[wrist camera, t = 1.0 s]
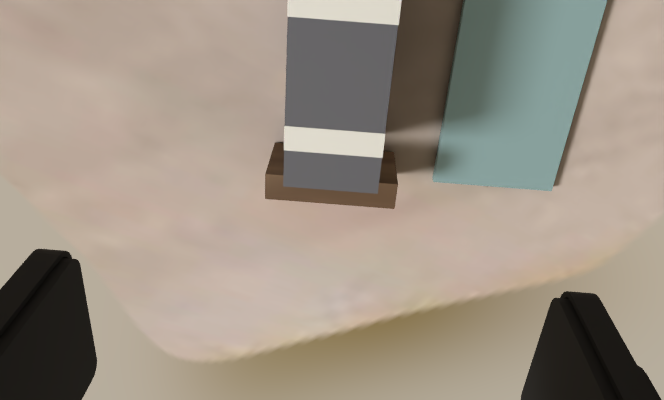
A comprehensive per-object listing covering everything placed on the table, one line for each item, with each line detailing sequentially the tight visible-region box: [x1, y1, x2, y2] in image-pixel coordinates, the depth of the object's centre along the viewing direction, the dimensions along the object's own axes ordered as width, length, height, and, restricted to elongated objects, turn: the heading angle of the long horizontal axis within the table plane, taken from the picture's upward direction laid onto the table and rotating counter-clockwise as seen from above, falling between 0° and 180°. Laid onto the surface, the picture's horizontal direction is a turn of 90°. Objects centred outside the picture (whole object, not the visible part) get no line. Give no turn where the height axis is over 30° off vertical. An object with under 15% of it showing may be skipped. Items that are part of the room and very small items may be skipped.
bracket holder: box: [265, 143, 398, 209], centre depth 29 cm, size 16×7×4 cm, turn 176°
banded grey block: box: [283, 0, 402, 194], centre depth 28 cm, size 11×4×7 cm, turn 176°
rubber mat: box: [433, 0, 607, 191], centre depth 31 cm, size 16×7×1 cm, turn 176°
